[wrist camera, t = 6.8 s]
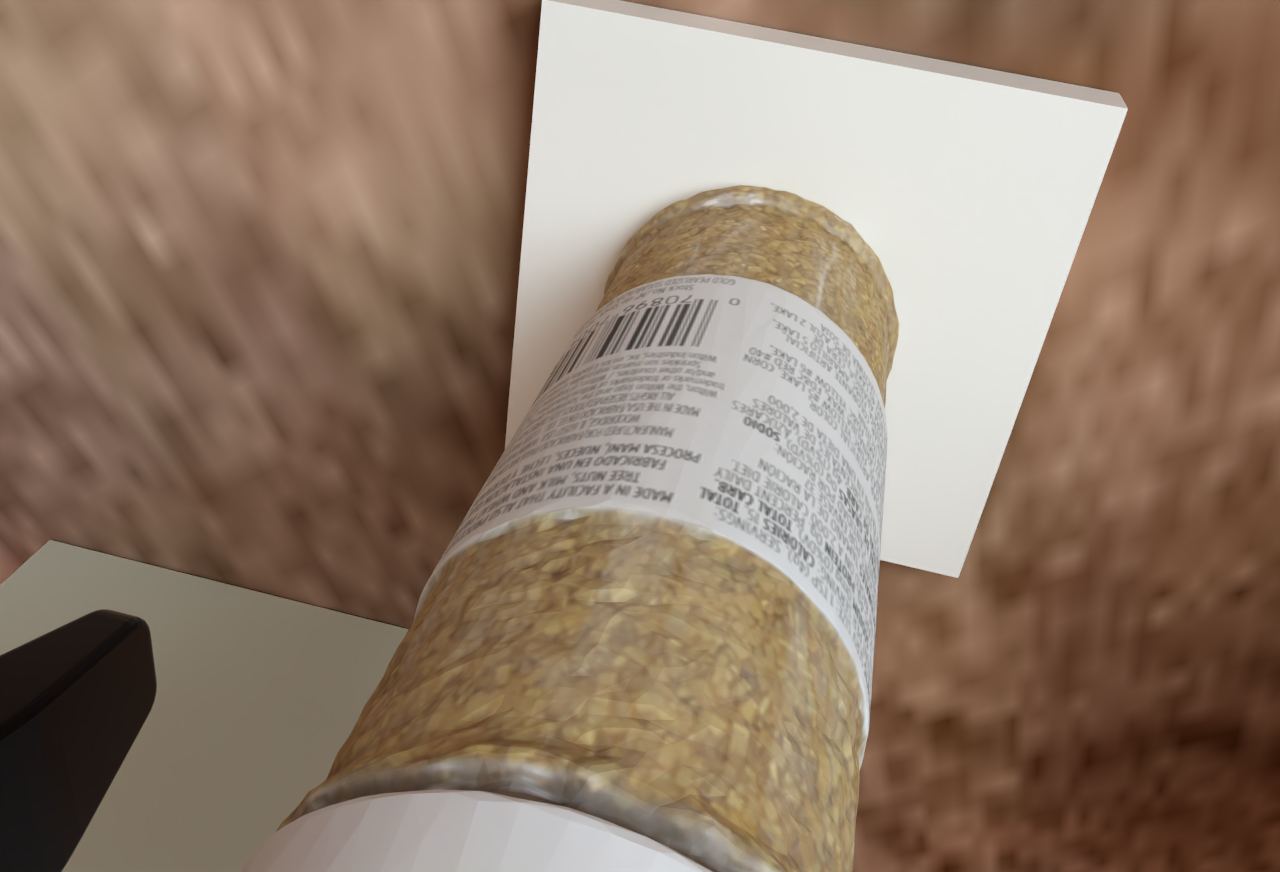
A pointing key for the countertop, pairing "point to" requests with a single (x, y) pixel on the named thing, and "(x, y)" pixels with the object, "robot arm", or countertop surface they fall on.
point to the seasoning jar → (651, 584)
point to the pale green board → (207, 705)
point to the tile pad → (843, 183)
